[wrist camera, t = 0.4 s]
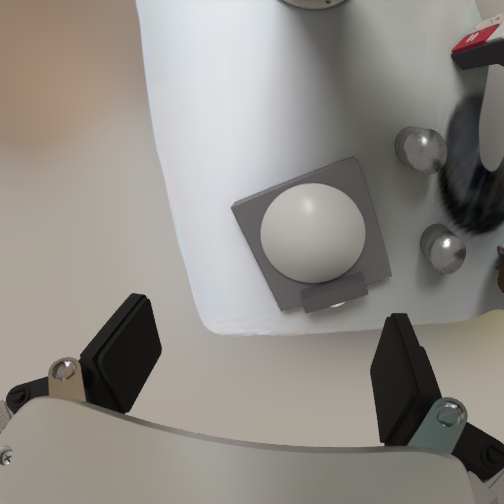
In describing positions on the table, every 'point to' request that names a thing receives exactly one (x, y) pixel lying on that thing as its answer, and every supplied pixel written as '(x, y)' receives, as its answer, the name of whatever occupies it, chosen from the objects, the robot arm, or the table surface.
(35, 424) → the robot arm
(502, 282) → the alarm clock
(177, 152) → the table surface
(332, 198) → the scale
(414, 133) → the cylinder
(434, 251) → the cylinder
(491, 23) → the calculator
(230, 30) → the table surface
